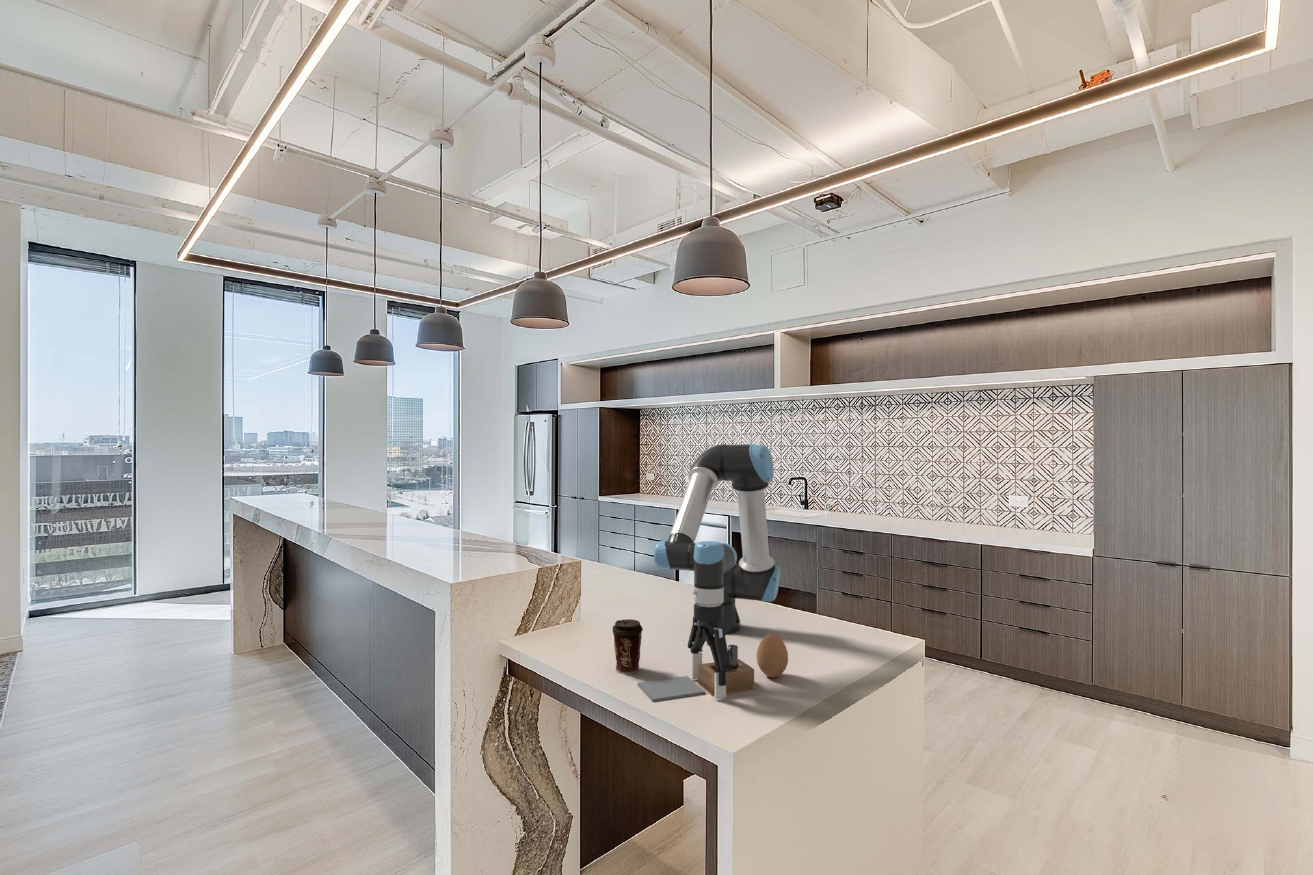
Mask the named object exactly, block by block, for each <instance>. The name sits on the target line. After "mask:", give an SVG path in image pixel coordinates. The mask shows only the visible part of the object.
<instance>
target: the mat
mask: <svg viewBox="0 0 1313 875" xmlns="http://www.w3.org/2000/svg"><path fill="white" fill-rule="evenodd" d="M637 686H638V687H639V688H640V690H641V691H642V692H643V693H644V694H645V695H646V696H647V697H648V698H649V700H651V702H659V701H666V700H672V699H679V698H687V697H693V696H694V697H695V696H699V695H705V694H706V690H705V689H703V688H702V687H701V686H700V685H699V684H698V683H696V682H695V681H694V680H692V679H691V677H689V676H688V675H685V676H679V677H671V678H663V679H656V680H650V681H642V682H637Z"/></svg>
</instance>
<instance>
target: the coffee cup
mask: <svg viewBox="0 0 1313 875" xmlns="http://www.w3.org/2000/svg"><path fill="white" fill-rule="evenodd" d="M643 631H644V630H643V626H642V625H641V623H640V621H639V620H637V619H631V618H630V619H629V618H628V619H619V620H616V621H615V623H614V624H613V625H612V633H613V639H614V641H613V643H614V644H613V646H614V653H615V654H614V655H615V660H616V665H615V671H616V673H619V674H622V675H623V674H624V675H631V674H636V673H637V672H638V671H639V669H640V659H641V645H642V635H643V634H642V632H643Z"/></svg>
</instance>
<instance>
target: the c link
mask: <svg viewBox="0 0 1313 875" xmlns="http://www.w3.org/2000/svg"><path fill="white" fill-rule="evenodd" d="M715 670H716V666H715V663H714V661H713V662H708V663H707V662H706V663H702V664H698V679H697V685H698V686H700V687H701V688H702V689H703V690H704V691H705V692H707V693H708V694H709V695H710V696H715V672H714V671H715ZM751 690H755V669H754V668H753V667H752V666H750V665H748V663H746V662H745V661H743V660H742V659H739V658H738V668H736V669H731V671H727V672H726V694H731V693H736V692H742V691H743V692H745V691H751Z"/></svg>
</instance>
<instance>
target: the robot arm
mask: <svg viewBox="0 0 1313 875" xmlns="http://www.w3.org/2000/svg"><path fill="white" fill-rule="evenodd" d="M773 461H774V460H773V457H772V454H771V451H770V450H769V448H768V446H766V445H764V444H754V443H751V444H748V443H747V444H745V443H744V444H726V443H724V444H717V445H713V446H711V447H709V448H708V449H706V450H705V451H704V452H702V453H701V454H700V455H699V456H698V457H697V458H696V459H695V461H694V462H693V464H692V465H691V467H690V469H689V472H688V476H687V477H688V484H687V486H686V489H685V491H684V495H683V497H682V500H681V502H680V506H679V508H678V511H677V514H676V517H675V519H674V522H673V525H672V528H671V529H670V530H671V531H670V532H669V536H668V538H667V540H660V541H658V542H657V543H656V544H655V547H654V552H653V560H654V562H655V565H656V567H658V568H660V569H665V570H666V569H667V570H670V571H671V570H679V571H689V572H690V571H692V572H693V582H694V583H693V591H692V594H693V602H694V604H693V617H692V626H691V629H690V633H689V637H688V642H687V648H688V649H690V650H689V651H690V653H691V676H690V679H691V680H693V681H694V680H698V664H703V653H702V652H704V651H703V647H704V645H705V643H706V644H707V647H708V646H709V650H710V652H711V654H712V660H713V662H714V663H715V666H716V670H715V671H714V672H715V695H714V699H715V700H718V699H726V698H727V693H726V672H727V671H731V664H730V659H729V654H728V644H727V640H726V634H729V633H735V632H737V631H740V630H741V619H740V616H739V612H738V609H737V607H736V599H738V600H747V601H748V600H749V601H759V602H761V603H762V602H773V601H775V599H776V598H777V595H778V592H779V587H780V581H781V568H780V566H778V565H775V560H774V558H773V557H771V556H770V549H769V536H768V524H767V523H768V522H767V508H766V506H767V505H766V496H765V495H766V494H765V493H766V492H765V490H766V489H767V488H769V484H770V482H772V481H773V479H774V476H775V475H774V474H775V473H774V462H773ZM721 481H725V482H731V487H732V489H733V490H734V491H735V492H736V493H737V504H738V512H739V513H738V514H739V516H738V517H739V524H740V525H739V526H740V527H739V528H740V535H741V536H740V538H741V550H742V557H741V558H740V559H739V561H738V563H737V560H738V554H737V552H736V550H735V547H734V546H732V545H731V544H729V543H725V542H724V543H721V542H719V541H714V540H713V541H711V540H707V541H706V540H705V541H704V540H703V541H698V542H695V541H696V538H697V536H698V533H699V530H700V527H701V524H702V521H703V518H704V514H705V512H706V510H707V507H708V503H709V500H710V498H711V494H712V491H713V489H715V488H716V487H717V485H718V484H719V482H721Z"/></svg>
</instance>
